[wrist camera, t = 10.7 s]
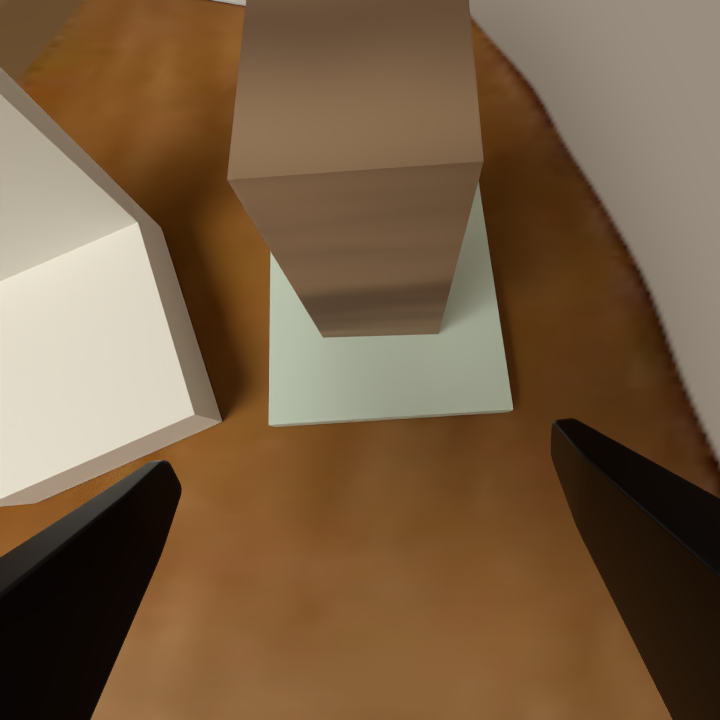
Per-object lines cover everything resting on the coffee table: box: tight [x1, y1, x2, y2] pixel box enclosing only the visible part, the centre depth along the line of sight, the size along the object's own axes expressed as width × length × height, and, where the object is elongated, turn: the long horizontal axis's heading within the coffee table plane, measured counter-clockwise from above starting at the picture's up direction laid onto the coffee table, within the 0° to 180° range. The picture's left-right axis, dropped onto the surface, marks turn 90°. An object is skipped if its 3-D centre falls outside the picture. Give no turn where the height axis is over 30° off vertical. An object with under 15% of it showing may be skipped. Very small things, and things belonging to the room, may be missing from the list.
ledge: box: [0, 68, 222, 506], centre depth 15 cm, size 11×9×9 cm
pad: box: [269, 181, 513, 427], centre depth 18 cm, size 12×10×1 cm
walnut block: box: [227, 0, 484, 338], centre depth 13 cm, size 5×5×10 cm
